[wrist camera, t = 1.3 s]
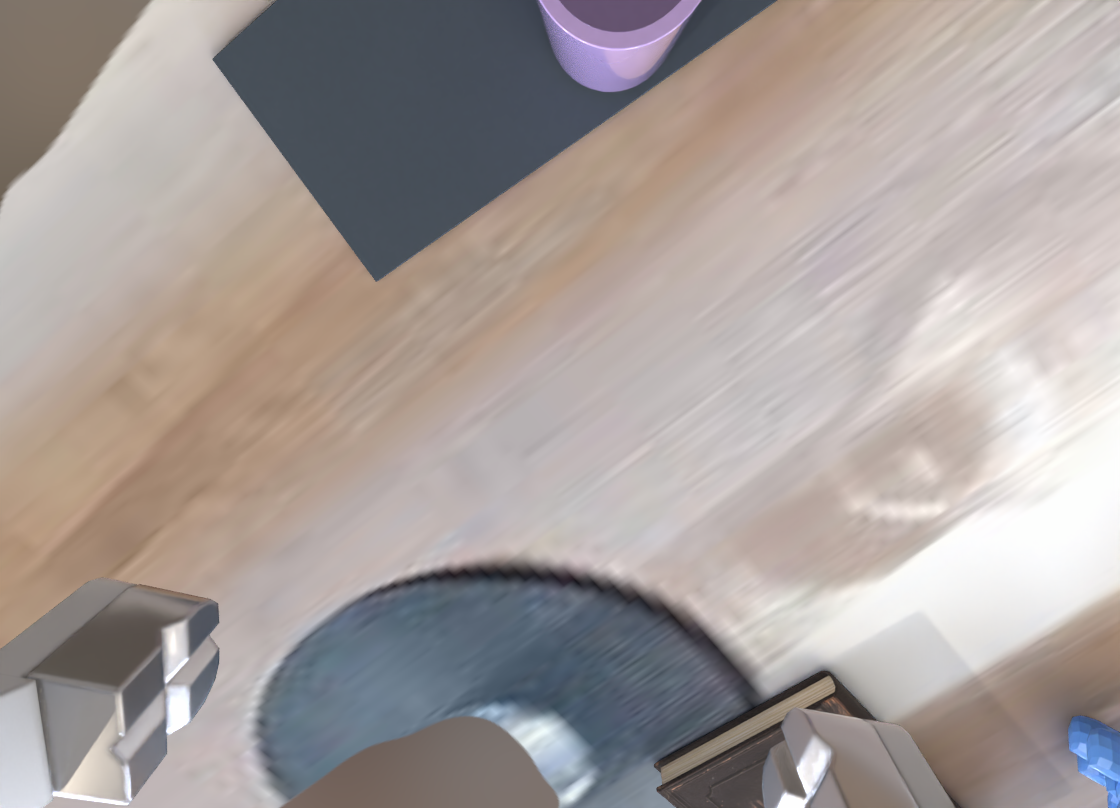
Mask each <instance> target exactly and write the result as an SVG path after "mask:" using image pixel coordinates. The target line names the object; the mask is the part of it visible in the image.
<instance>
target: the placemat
mask: <svg viewBox="0 0 1120 808" xmlns="http://www.w3.org/2000/svg"><path fill="white" fill-rule="evenodd" d="M776 1H777V0H701V2H700V3H699V5H698V7H697V8H696V10H695V12H694V13H693V15H692V17H691V18H690V20H689V22H688V23H687V25H686V27H685V28H684V30H683V32H682V33H681V35H680V37H679V38H678V40H677V42H676V43H675V45H674V47H673V48H672V50H671V52H670V53H669V55H668V57H667V58H666V60H665V61H664V63H663V64H662V65H661V67H660V68H659V69H658V70H657V71H656V72H655V73H654V74H653V75H652V76H651V77H649V78H648V79H647V80H646V81H644V82H642V83H641V84H639V85H637V86H635V87H633V88H630V89H627V90H623V91H618V92H602V91H596V90H593V89H590V88H588V87H586V86H584V85H582V84H580V83H579V82H577V81H576V80H574V79H573V78H572V77H571V76H570V75H569V74H567V72H566V71H565V70H564V69H563V68H562V66H561V65H560V63H559V62H558V60H557V59H556V57H555V55H554V53H553V50H552V48H551V45H550V42H549V39H548V36H547V32H546V29H545V26H544V23H543V20H542V16H541V13H540V10H539V7H538V4H537V0H277V1H276V2H274V3H273V4H272V5H271V6H270V7H269V8H268V9H267V10H266V11H265V12H263V13H262V14H261V15H260V16H259V17H258V18H257V19H256V20H255V21H254V22H252V23H251V24H250V25H249V26H248V27H247V28H246V29H245V30H244V31H243V32H241V33H240V34H239V35H238V36H237V37H236V38H235V39H234V40H233V41H232V42H230V43H229V44H228V45H227V46H226V47H225V48H224V49H223V50H222V51H221V52H219V53H218V54H217V55H216V56H215V57H214V58H213V61H214V62H215V64H216V65H217V66H218V68H219V69H220V70H221V72H222V73H223V74H224V76H225V77H226V78H227V80H228V81H229V83H230V84H231V85H232V87H233V88H234V89H235V91H236V92H237V93H238V95H239V96H240V97H241V99H242V100H243V102H244V103H245V104H246V106H247V107H248V108H249V110H250V111H251V112H252V114H253V115H254V117H255V118H256V119H257V121H258V122H259V123H260V125H261V126H262V127H263V129H264V130H265V131H266V133H267V134H268V136H269V137H270V138H271V140H272V141H273V142H274V144H275V145H276V146H277V148H278V149H279V150H280V152H281V153H282V155H283V156H284V157H285V159H286V160H287V161H288V163H289V164H290V165H291V167H292V168H293V169H294V171H295V172H296V174H297V175H298V176H299V178H300V179H301V180H302V182H303V183H304V184H305V186H306V187H307V189H308V190H309V191H310V193H311V194H312V195H313V197H314V198H315V199H316V201H317V202H318V203H319V205H320V206H321V208H322V209H323V210H324V212H325V213H326V214H327V216H328V217H329V218H330V220H331V221H332V222H333V224H334V225H335V227H336V228H337V229H338V231H339V232H340V233H341V235H342V236H343V237H344V239H345V240H346V242H347V243H348V244H349V246H350V247H351V248H352V250H353V251H354V252H355V254H356V255H357V256H358V258H359V259H360V261H361V262H362V263H363V265H364V266H365V267H366V269H367V270H368V271H369V273H370V274H371V275H372V277H373V278H374V280H375V281H378V280H380V279H381V278H383V277H384V276H386V275H387V274H388V273H390V272H391V271H393V270H394V269H396V268H397V267H398V266H400V265H401V264H403V263H404V262H405V261H407V260H408V259H410V258H411V257H413V256H414V255H415V254H417V253H418V252H420V251H421V250H423V249H424V248H425V247H427V246H428V245H430V244H431V243H433V242H434V241H435V240H437V239H438V238H440V237H441V236H442V235H444V234H445V233H447V232H448V231H450V230H451V229H452V228H454V227H455V226H457V225H458V224H460V223H461V222H462V221H464V220H465V219H467V218H468V217H470V216H471V215H472V214H474V213H475V212H477V211H478V210H480V209H481V208H482V207H484V206H485V205H487V204H488V203H489V202H491V201H492V200H494V199H495V198H497V197H498V196H499V195H501V194H502V193H504V192H505V191H507V190H508V189H509V188H511V187H512V186H514V185H515V184H517V183H518V182H519V181H521V180H522V179H524V178H525V177H526V176H528V175H529V174H531V173H532V172H534V171H535V170H536V169H538V168H539V167H541V166H542V165H544V164H545V163H546V162H548V161H549V160H551V159H552V158H554V157H555V156H556V155H558V154H559V153H561V152H562V151H563V150H565V149H566V148H568V147H569V146H571V145H572V144H573V143H575V142H576V141H578V140H579V139H581V138H582V137H583V136H585V135H586V134H588V133H589V132H591V131H592V130H593V129H595V128H596V127H598V126H599V125H601V124H602V123H603V122H605V121H606V120H608V119H609V118H610V117H612V116H613V115H615V114H616V113H618V112H619V111H620V110H622V109H623V108H625V107H626V106H628V105H629V104H630V103H632V102H633V101H635V100H636V99H638V98H639V97H640V96H642V95H643V94H645V93H646V92H647V91H649V90H650V89H652V88H653V87H655V86H656V85H657V84H659V83H660V82H662V81H663V80H665V79H666V78H667V77H669V76H670V75H672V74H673V73H675V72H676V71H677V70H679V69H680V68H682V67H683V66H685V65H686V64H687V63H689V62H690V61H692V60H693V59H694V58H696V57H697V56H699V55H700V54H702V53H703V52H704V51H706V50H707V49H709V48H710V47H712V46H713V45H714V44H716V43H717V42H719V41H720V40H722V39H723V38H724V37H726V36H727V35H729V34H730V33H731V32H733V31H734V30H736V29H737V28H739V27H740V26H741V25H743V24H744V23H746V22H747V21H749V20H750V19H751V18H753V17H754V16H756V15H757V14H759V13H760V12H761V11H763V10H764V9H766V8H767V7H768V6H770V5H771V4H773V3H774V2H776Z"/></svg>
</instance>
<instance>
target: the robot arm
mask: <svg viewBox="0 0 1120 808" xmlns="http://www.w3.org/2000/svg"><path fill="white" fill-rule="evenodd" d="M218 624H219V611H218V603H216V602H215V601H213V600H211V599H207V598H203V597H198V596H193V595H189V594H184V593H179V592H174V591H170V590H165V589H160V588H156V587H151V586H146V585H141V584H139V585H137V584H133V583H128V582H123V581H119V580H114V579H109V578H105V577H101V578H98V579H95V580H91V581H88V582H87V583H85V584H84V585H83V586H81V587H80V588H79V589H77V590H76V591H75V592H74V593H72V594H71V595H70V596H68V597H67V598H66V599H65V600H63V601H62V602H61V603H59V604H58V605H57V606H55V607H54V608H53V609H52V610H50V611H49V612H48V613H46V614H45V615H44V616H43V617H41V618H40V619H39V620H37V621H36V622H35V623H34V624H32V625H31V626H30V627H28V628H27V629H26V630H24V631H23V632H22V633H21V634H19V635H18V636H17V637H15V638H14V639H13V640H12V641H10V642H9V643H8V644H6V645H5V646H4V647H2V648H1V649H0V808H42V807H44V806H45V805H47V804H48V803H50V802H51V801H52V800H53V799H54V798H53V795H55V796H63V797H70V798H77V799H84V800H92V801H99V802H106V803H114V804H121V805H129V804H130V803H131V801H132V800H133V798H134V797H135V796H136V794H137V793H138V792H139V790H140V789H141V788H142V786H143V785H144V784H145V782H146V781H147V780H148V778H149V777H150V776H151V774H152V773H153V772H154V770H155V769H156V768H157V766H158V765H159V764H160V762H161V761H162V760H163V758H164V757H165V756H166V754H167V735H169V734H170V733H172V732H174V731H176V730H177V729H179V728H181V727H183V726H185V725H186V724H188V723H190V722H191V721H192V719H193V718H194V716H195V715H196V714H197V712H198V711H199V709H200V708H201V707H202V705H203V704H204V702H205V700H206V698H207V696H208V694H209V692H210V690H211V687H212V685H213V683H214V681H215V678H216V674H217V669H218V665H219V647H218V646H217V645H216V643H215V642H214V641H213V639H212V638H211V637H210V635H209V634H210V633H211V632H212V631H213V630H214V628H215V627H216V626H217V625H218ZM781 728H782V731H783V734H784V736H785V740H783V741H782V742H780V743H778V744H777V745H775V746H774V747H772V748H770V750H769V753H768V755H767V758H766V760H765V763H764V765H763V776H762V793H763V801H764V806H765V808H955V806H954V805H953V803H952V801H951V800H950V798H949V797H948V795H947V793H946V792H945V790H944V789H943V787H942V785H941V784H940V782H939V781H938V779H937V777H936V776H935V774H934V773H933V771H932V769H931V768H930V766H929V764H928V763H927V761H926V760H925V758H924V756H923V755H922V753H921V752H920V750H919V748H918V747H917V745H916V744H915V742H914V740H913V739H912V737H911V736H910V734H909V733H908V732H907V731H906V730H904V729H903V728H902V727H901V726H900V725H896V724H890V723H885V722H879V721H873V720H867V719H862V720H861V719H859V718H855V717H849V716H843V715H838V714H832V713H826V712H820V711H815V710H809V709H803V708H798V707H794V708H793V709H791V710H790V711H789V712H788V713H787V714H786V716H785V718H784V720H783V722H782V724H781Z"/></svg>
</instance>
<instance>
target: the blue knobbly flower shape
mask: <svg viewBox="0 0 1120 808" xmlns="http://www.w3.org/2000/svg"><path fill="white" fill-rule="evenodd" d="M1068 736H1069V749H1070V751H1072V752H1074V753H1075V754H1077V763H1078V771H1079V772H1080V773H1082V774H1083V775H1085V776H1087V777H1088V778H1090V779H1092V780H1094V781H1095V782H1097V783H1099V784H1101V785H1103V786H1105V787H1106V789H1107V791H1108V808H1120V732H1118V731H1116V730H1114V729H1113V728H1111V727H1109V726H1107V725H1105V724H1103V723H1102V722H1100V721H1098V720H1095V719H1092V718H1090V717H1087V716H1075V717H1072V720H1071V722H1070V725H1069V728H1068Z"/></svg>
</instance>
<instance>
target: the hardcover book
mask: <svg viewBox="0 0 1120 808" xmlns="http://www.w3.org/2000/svg"><path fill="white" fill-rule="evenodd" d="M794 707H798V708H803V709H809V710H815V711H820V712H826V713H832V714H838V715H843V716H849V717H855V718H859V719H861V720H862V719H867V720H873V721H877V720H876V719H875V718H874V717H873V716H872V715H871V714H870V713H869V712H868V711H867V710H866V709H865V708H864V707H863V706H862V705H861V704H860V703H859V702H858V701H857V700H856V699H855V698H854V697H853V696H852V694H851V693H850V692H849V691H848V690H847V689H846V688H845V687H844V686H843V685H842V684H841V683H840V682H839V681H838V680H837V679H836V678H835V677H834V676H833V675H832V674H831V673H829V672H827V671H821V672H819V673H817V674H816V675H814V676H812V677H810V678H808V679H807V680H805V681H803V682H801V683H799V684H798V685H796V686H794V687H792V688H790V689H789V690H787V691H785V692H783V693H781V694H780V695H778V696H776V697H774V698H772V699H771V700H769V701H767V702H765V703H763V704H762V705H760V706H758V707H756V708H754V709H753V710H751V711H749V712H747V713H745V714H744V715H742V716H740V717H738V718H736V719H734V720H733V721H731V722H729V723H727V724H725V725H724V726H722V727H720V728H718V729H716V730H715V731H713V732H711V733H709V734H707V735H706V736H704V737H702V738H700V739H698V740H697V741H695V742H693V743H691V744H689V745H688V746H686V747H684V748H682V749H680V750H679V751H677V752H675V753H673V754H671V755H670V756H668V757H666V758H664V759H662V760H661V761H659V762H657V763H655V764H654V767H655V768H656V769H657V770H658V771H659V772H661V776H662V784H663V785H661V786H659V787H657V792H658V793H659V794H661V795H662V796H663V797H664V798H665V799H667V800H668V801H669V802H670V803H671V804H673V805H674V806H675V807H676V808H765V806H764V801H763V793H762V776H763V765H764V763H765V760H766V758H767V755H768V753H769V750H770V748H772V747H774V746H775V745H777V744H778V743H780V742H782V741H783V740H785V736H784V734H783V731H782V728H781V724H782V722H783V720H784V718H785V716H786V714H787V713H788V712H789V711H790V710H791V709H793V708H794ZM947 795H948V794H947ZM948 797H949V798H950V800H951V801H952V803H953V805H954V806H955V808H960V807H959V806H958V805H957V804H956V803H955V802H954V801H953V800H952V799H951V797H950V796H949V795H948Z"/></svg>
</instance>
